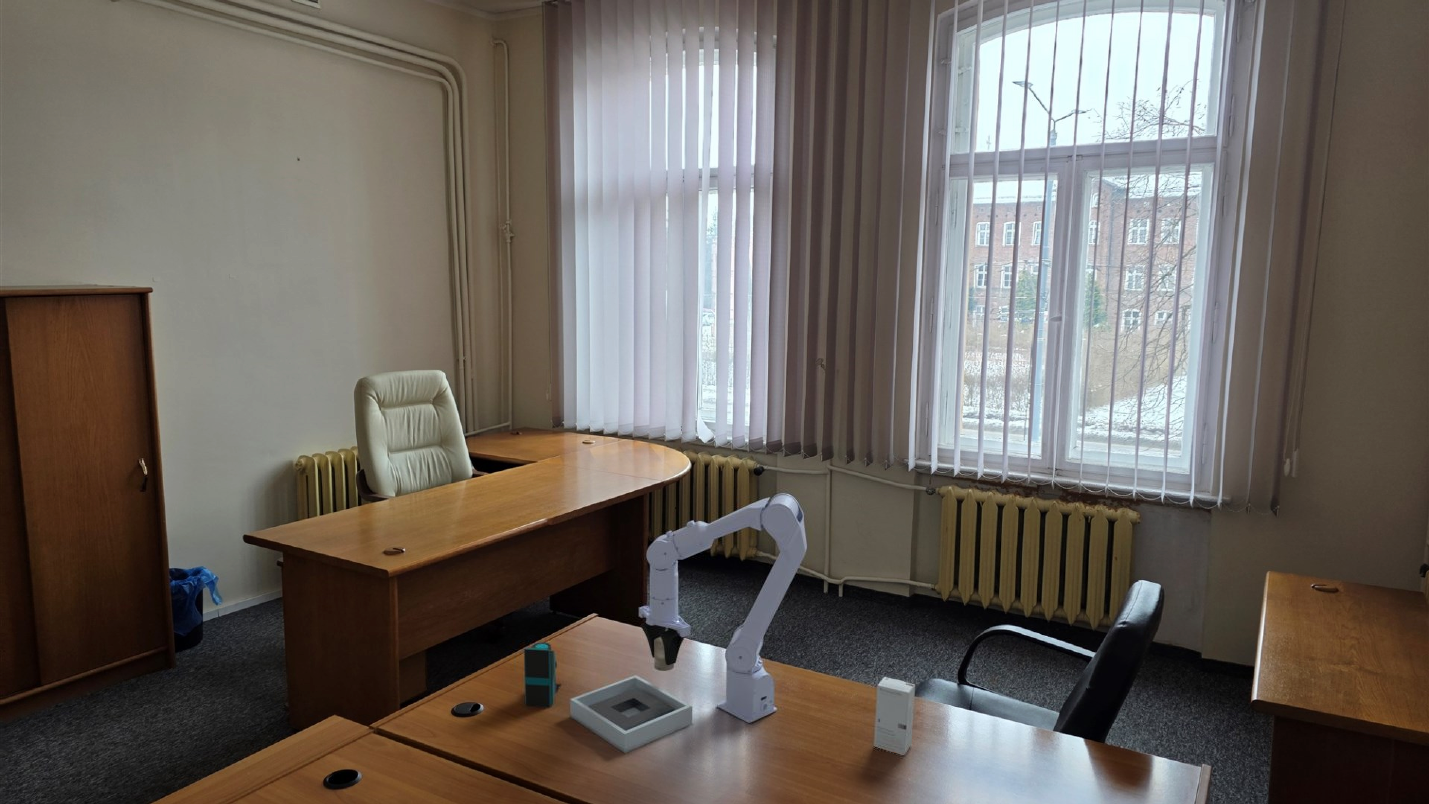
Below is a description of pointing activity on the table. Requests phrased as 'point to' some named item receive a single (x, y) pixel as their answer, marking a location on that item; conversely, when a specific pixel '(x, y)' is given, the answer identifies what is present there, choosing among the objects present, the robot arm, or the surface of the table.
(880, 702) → the skincare box
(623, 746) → the tray
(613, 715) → the plate
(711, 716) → the table surface
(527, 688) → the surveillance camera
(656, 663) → the peg
